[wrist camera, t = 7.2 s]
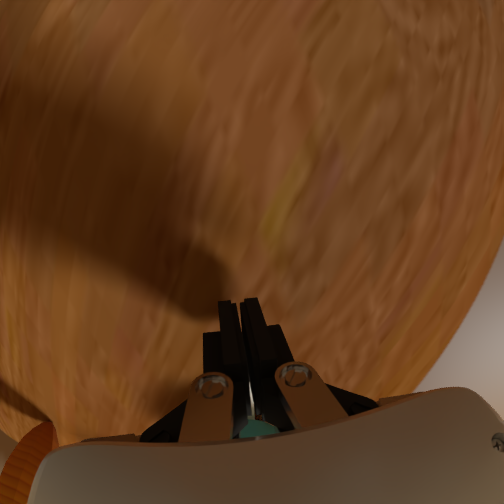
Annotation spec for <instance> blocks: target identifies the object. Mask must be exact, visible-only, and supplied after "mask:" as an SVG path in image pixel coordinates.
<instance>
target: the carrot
mask: <svg viewBox="0 0 504 504" xmlns="http://www.w3.org/2000/svg"><path fill="white" fill-rule="evenodd" d="M58 447H59V443H58V438H57V434H56V429H55V427H54V425H53V424H52V422H50V421H48V422H43V423H41V424H40V425H38V426H36V427H35V428H33V429H32V430H31V431H30V432H28V433H27V434H26V435H25V436H24V437H23V438H22V439H21V441H20V442H19V443H18V445H17V446H16V447H15V449H14V450H13V452H12V453H11V455H10V456H9V458H8V460H7V461H6V463H5V466H4V468H3V471H2V473H1V475H0V504H27V502H28V498H29V494H30V490H31V487H32V483H33V480H34V477H35V475H36V472H37V470H38V468H39V466H40V464H41V462H42V460H43V459H44V457H45V456H46V455H47V454H48V453H49V452H51V451H52V450H54V449H56V448H58Z"/></svg>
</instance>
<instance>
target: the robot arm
mask: <svg viewBox="0 0 504 504" xmlns="http://www.w3.org/2000/svg"><path fill="white" fill-rule="evenodd" d="M218 308H219V320H220V331H218V332H207V333H203V374H201V375H200V376H198V377H196V378H195V379H194V380H193V382H192V384H191V387H190V391H189V395H188V399H187V400H186V401H184V402H183V403H182V404H180V405H179V406H178V407H176V408H175V409H174V410H172V411H171V412H170V413H168V414H167V415H166V416H164V417H163V418H162V419H160V420H159V421H157V422H156V423H155V424H153V425H152V426H151V427H149V428H148V429H146V430H145V431H144V432H143V433H142V435H138V436H135V434H134V433H133V434H126V435H118V436H110V437H100V438H89V439H85V440H82V441H81V442H79V443H74V444H69V445H64V446H61V447H58V448H56V449H54V450H52V451H51V452H49V453H48V454H47V455H46V456H45V457H44V459H43V460H42V462H41V464H40V466H39V468H38V470H37V472H36V475H35V477H34V480H33V483H32V487H31V490H30V494H29V498H28V502H27V504H504V420H503V419H502V418H501V417H500V416H499V414H498V413H497V412H496V411H495V410H494V409H493V408H492V407H491V406H490V405H489V404H488V403H487V402H486V401H485V400H484V399H483V398H482V397H481V396H480V395H478V394H477V393H476V392H474V391H472V390H470V389H468V388H464V387H448V388H447V387H446V388H440V389H434V390H430V391H426V392H417V393H412V394H406V395H400V396H393V397H387V398H379V401H377V402H375V401H373V400H372V399H369V398H367V397H364V396H361V395H358V394H354V393H351V392H348V391H346V390H343V389H340V388H337V387H334V386H331V385H328V384H326V383H324V382H323V380H322V379H321V378H320V376H319V375H318V373H317V372H316V371H315V369H314V368H313V367H312V366H310V365H308V364H306V363H303V362H295V361H294V359H293V356H292V354H291V351H290V349H289V346H288V344H287V341H286V339H285V336H284V334H283V331H282V329H281V327H280V325H279V324H277V325H270V326H267V325H266V322H265V319H264V316H263V313H262V310H261V307H260V304H259V301H258V298H257V297H256V298H247V299H244V302H241V303H240V313H241V325H242V332H241V327H240V322H239V317H238V311H237V306H236V303H232V304H231V300H228V301H218ZM249 383H250V386H249ZM250 388H251V393H252V397H253V402H254V407H255V412H256V415H260V414H261V415H262V420H263V422H264V421H266V422H268V423H270V424H272V425H274V429H275V432H276V433H274V434H268V435H262V436H255V437H247V438H241V435H240V431H241V430H242V429H243V428H244V427H245V426H246V425H247V424H248V416H252V409H251V398H250Z"/></svg>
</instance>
